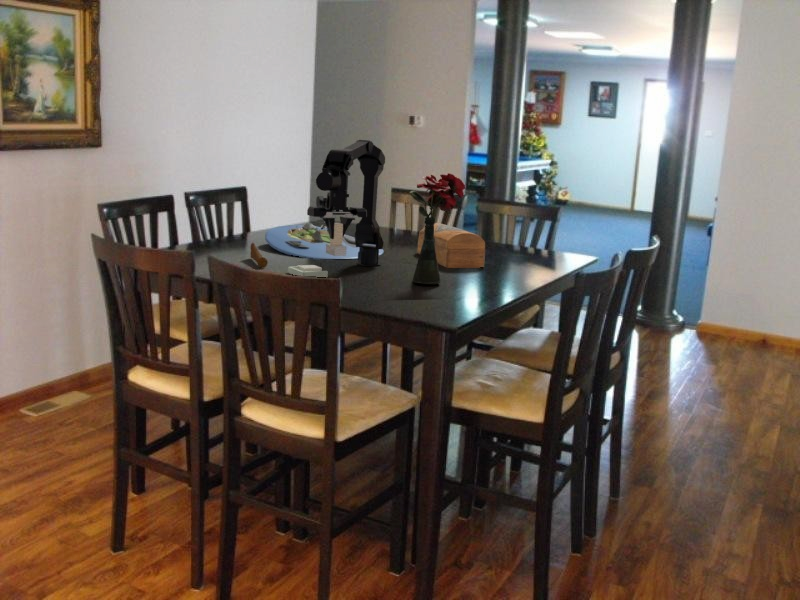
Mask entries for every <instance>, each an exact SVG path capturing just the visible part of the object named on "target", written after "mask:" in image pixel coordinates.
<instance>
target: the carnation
mask: <svg viewBox="0 0 800 600" xmlns="http://www.w3.org/2000/svg"><path fill="white" fill-rule="evenodd" d="M439 176H440V179H438V180H437V178H436V176H435V175H434V174H430V176H429V175H425V176H422V178H421V179H422V180H425V182H426V183H425V182H424V181H422V182H421V183H417V185H416V188H417V189H421V188H423V189H426V192H428V195H429V197H428V199H425V197H424V196H423V195H422V194H421V193H419V192H418V191H416V190H411V191H409V193H408V194H409V195H410V196H411V197H412V199H413V200H415V201H417V202H418V203H421V204H423V205H424V207H423V206H419V208H418V213H419V214H420V215H422V216H423V217H424V222H423V223H424V228H425V230H424V231H425V234H424V240H423V245H422V249H421V252H420V254H418V256H419V257H418V259H417V263H416V266H415V267H416V268H415V270H414V273H413V278H412V282H413V284H416V283H417V284H418V283H419V284H420V285H435V286H436V285H437V284H440V283H441V277H440V272H439V264H438V263H437V259H436V251H435V244H434V224H435V223H436V222H435V221H436V220H435V219H436V217H434V215H435V213H436V211H437V209H438V207H439V210H440V211H443V212H446V211H447V212H448V211H452V209H454V207H455V206H456V204H457V198H456V197H455V195H454V194H456V196H458V198H459V199H462V198H463V197H464V190H465V189H466V184H465V183H464V181H463V180H462V179H461V178H460V177H457V176H455V175H454V174H452V173H446V174H439ZM426 205H427V206H429V210H430V211H429V213H428V210H427V207H426ZM434 208H435V209H434ZM430 216H431V217H430Z"/></svg>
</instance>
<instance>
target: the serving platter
mask: <svg viewBox="0 0 800 600" xmlns="http://www.w3.org/2000/svg"><path fill="white" fill-rule="evenodd" d="M264 238H265V239H264V240H265V241H266V243H267V244H268V245H269V246H270V247H271V248H273V249H274V250H276V251H278V252H280V253H283V254H285V255H288V256H291V255H293V256H292V257H295V256H299V257H306V258H305V259H309V258H313V259H312V260H320V259H352V260H358V252H359V248H360V247H356V243H355V236H351V235H348V234H346V233H345V234H344V236H343V242H342V245H344V246H347V250H346V256H333V255H330V254H327V253H326V244H330V236H329V233H328V229H327V226H326V225H325V226H324V224H321V225H320V226H318V225H313V224H312V222H309V223H305V224H304V225H299V224H297V225H296V224H294V225H293V224H292V225H281V226H280V225H279V226H275V227H273V228H272V227H271V228H270V229H268V230H267V231H266V232H265V234H264ZM366 245H371V244H366ZM375 246H376V245H375ZM384 252H385V251H384V249H383V248H382V249H379V256H382V255H383V254H384ZM299 257H298V258H299Z"/></svg>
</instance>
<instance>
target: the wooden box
mask: <svg viewBox="0 0 800 600" xmlns="http://www.w3.org/2000/svg"><path fill="white" fill-rule="evenodd" d="M424 230H425V227H423V228H422V229H421V230H420V231H419V232H418V239H417V252H416V253H417V254H418V255H420V252H421V249H422V245H423V240H424V234H425V231H424ZM434 244H435V251H436V259H437V264H438V265H440V266H442V267H444V268H448V269H451V268H452V269H458V268H459V269H465V268H466V269H471V268H473V269H475V268H476V269H477V268H480V267H484V268H485V260H486V259H485V257H486V242H485V240H484V239H483V238H482V237H481V236H480V235H478V234H476V233H473V232H470V231H467V230H465V229H462V228H459V227H455V226H452V225H449V224H444V223H439V222H438V223H437V222H435V224H434ZM480 269H481V268H480Z"/></svg>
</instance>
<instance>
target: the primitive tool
mask: <svg viewBox="0 0 800 600" xmlns="http://www.w3.org/2000/svg"><path fill="white" fill-rule="evenodd" d="M250 258H251V259H253V260H254V261H255V262H256V264H257V266H258V267H259V268H262V269H265V268H266V267H267V266H268V263H269V262H268V259H267V258H266V257H263V255H262V254H261V253H260V252H259V249H258V248H257V246H256V244H255V243H254V242H251V244H250Z"/></svg>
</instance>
